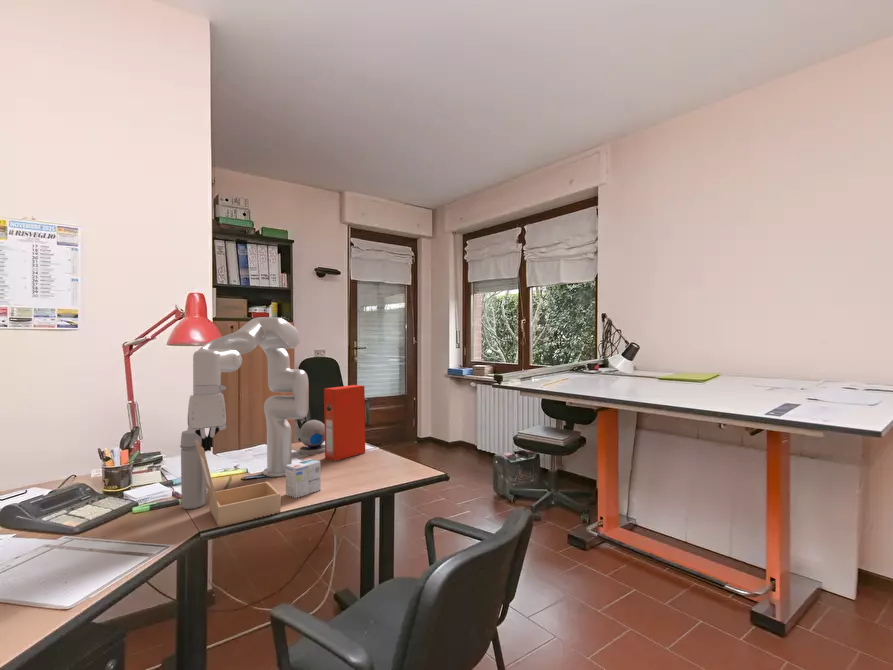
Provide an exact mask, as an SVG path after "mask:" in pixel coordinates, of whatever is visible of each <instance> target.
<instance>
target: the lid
mask: <svg viewBox="0 0 893 670" xmlns="http://www.w3.org/2000/svg"><path fill="white" fill-rule="evenodd" d="M195 443H196V447H197V451H198V455H199V459H200V463H201V467H202V471H203V475H204V479H205V483H206V487H207V491H206V492H207V493H208V495H209V498H210V497H211V499H212V500H213V502H214V504H215V505H216V507H218V503H217V499H216V495H215V492H216V491H215V487H214V484H213V481H212V476H211V471H210V469H209V465H208V460H207V457H206V451H205V452H204V449H203V447H202V446H201V445H200V443H199V442H198V441H197V439H195Z"/></svg>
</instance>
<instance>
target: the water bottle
mask: <svg viewBox="0 0 893 670" xmlns="http://www.w3.org/2000/svg"><path fill="white" fill-rule="evenodd" d="M198 430H199V429H198ZM195 439H197V441H198V442H199V443H200V445H201V437H200V436H199V435H197V434H195V433H188V432H187V429H186V430H184V431H181V437H180V444H179V445H180V446H179V448H180V469H181V470H180V478H181V479H180V480H181V482H180V484H181V485H180V486H181V487H180V488H181V491H180V492H181V507H182V508H183V509H185V510H193V509H194V510H195V509H198V507H199V508H201V507H203V506H204V505H206V502H207V500H206V499H207V497H206V495H207V494H206V493H207V492H208V491H207V487H206V483H205V479H204V475H203V471H202V467H201V463H200V459H199V455H198V451H197V447H196V443H195ZM204 452H205V453H206V451H204Z"/></svg>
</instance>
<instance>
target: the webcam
mask: <svg viewBox="0 0 893 670" xmlns="http://www.w3.org/2000/svg"><path fill="white" fill-rule="evenodd" d="M298 432H299V434H298V435H299V440H300V441H301V443H302V444H303V445H304V446H301V447H299V449H298V450H299V453H300V454H302V455H318V454H319V455H320V454H323V453H325V444H324V443H325V423H323V422H322V421H320V420H317V419H311V420H308V421H305V423H303V424H302V425H301V427H300V430H299V431H298Z"/></svg>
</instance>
